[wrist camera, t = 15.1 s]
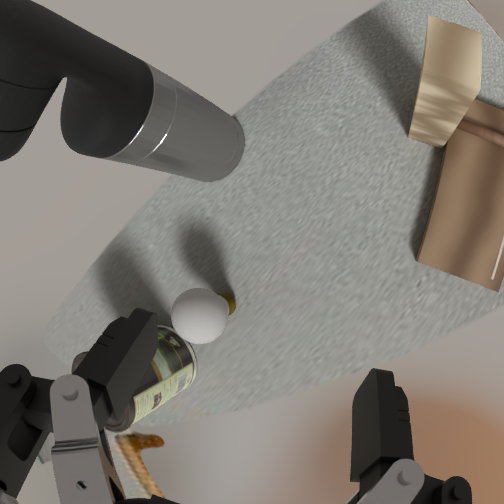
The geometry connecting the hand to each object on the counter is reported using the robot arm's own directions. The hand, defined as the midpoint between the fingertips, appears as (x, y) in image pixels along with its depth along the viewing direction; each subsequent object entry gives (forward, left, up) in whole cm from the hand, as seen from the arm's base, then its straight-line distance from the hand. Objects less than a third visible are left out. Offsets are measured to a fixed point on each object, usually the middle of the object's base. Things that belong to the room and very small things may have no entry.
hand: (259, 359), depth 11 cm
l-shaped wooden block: (+10, +19, -25) cm, 33 cm away
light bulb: (-12, -8, -25) cm, 29 cm away
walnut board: (+12, +13, -25) cm, 31 cm away
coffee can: (-19, -20, -25) cm, 37 cm away
